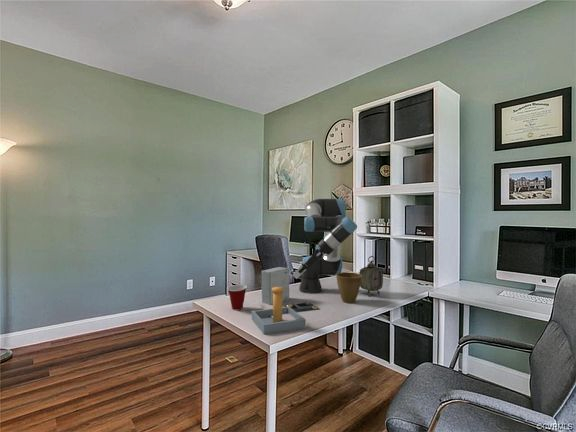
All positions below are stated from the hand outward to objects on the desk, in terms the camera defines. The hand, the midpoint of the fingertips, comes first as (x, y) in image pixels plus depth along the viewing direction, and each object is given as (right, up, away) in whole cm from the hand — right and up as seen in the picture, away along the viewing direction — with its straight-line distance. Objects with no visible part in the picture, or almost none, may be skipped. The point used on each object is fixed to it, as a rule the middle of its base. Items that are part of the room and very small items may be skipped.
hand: (297, 273), depth 147 cm
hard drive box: (-12, -23, +30) cm, 40 cm away
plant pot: (+32, -23, +35) cm, 53 cm away
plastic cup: (-33, -23, +20) cm, 45 cm away
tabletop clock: (+49, -23, +51) cm, 74 cm away
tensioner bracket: (+3, -23, +18) cm, 29 cm away
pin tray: (-10, -23, -2) cm, 25 cm away
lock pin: (-10, -23, -2) cm, 25 cm away
